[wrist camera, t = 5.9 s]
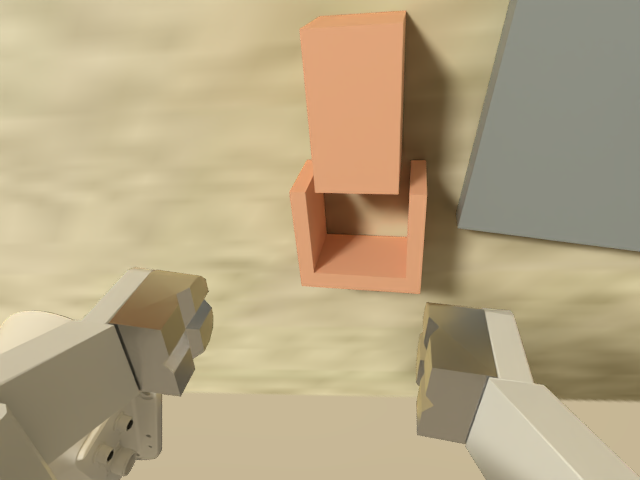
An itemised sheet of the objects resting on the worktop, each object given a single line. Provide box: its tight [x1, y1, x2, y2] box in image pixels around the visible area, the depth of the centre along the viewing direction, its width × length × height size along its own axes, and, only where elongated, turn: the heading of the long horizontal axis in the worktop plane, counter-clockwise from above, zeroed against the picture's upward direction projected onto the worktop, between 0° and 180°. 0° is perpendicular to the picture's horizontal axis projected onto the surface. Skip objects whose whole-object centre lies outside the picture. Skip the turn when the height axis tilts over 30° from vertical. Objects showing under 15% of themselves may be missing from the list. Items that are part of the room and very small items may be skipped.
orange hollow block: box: [289, 11, 427, 294], centre depth 21 cm, size 13×7×4 cm, turn 5°
